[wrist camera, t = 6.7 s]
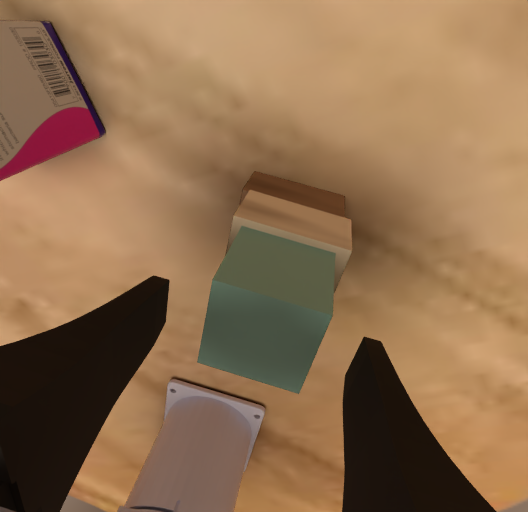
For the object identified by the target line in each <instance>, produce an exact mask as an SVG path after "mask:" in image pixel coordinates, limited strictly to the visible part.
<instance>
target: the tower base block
mask: <svg viewBox="0 0 528 512" xmlns="http://www.w3.org/2000/svg"><path fill="white" fill-rule="evenodd" d="M249 190H253V191H256V192H260V193H263V194H266V195H270V196H273V197H276V198H280V199H283V200H287V201H290V202H293V203H297V204H300V205H303V206H307V207H310V208H314V209H317V210H320V211H324V212H327V213H330V214H334V215H337V216H341V217H344V216H345V196H343V195H340V194H336V193H332V192H329V191H325V190H321V189H318V188H314V187H311V186H307V185H303V184H300V183H296V182H292V181H289V180H285V179H281V178H278V177H274V176H271V175H267V174H263V173H260V172H256V171H255V172H254V173H253V175H252V176H251V178H250V179H249V181H248V182H247V184H246V185H245V187H244V188H243V190H242V195H241V200H240V205H241V203H242V201H243V200H244V198H245V196H246V195H247V193H248V192H249Z"/></svg>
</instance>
